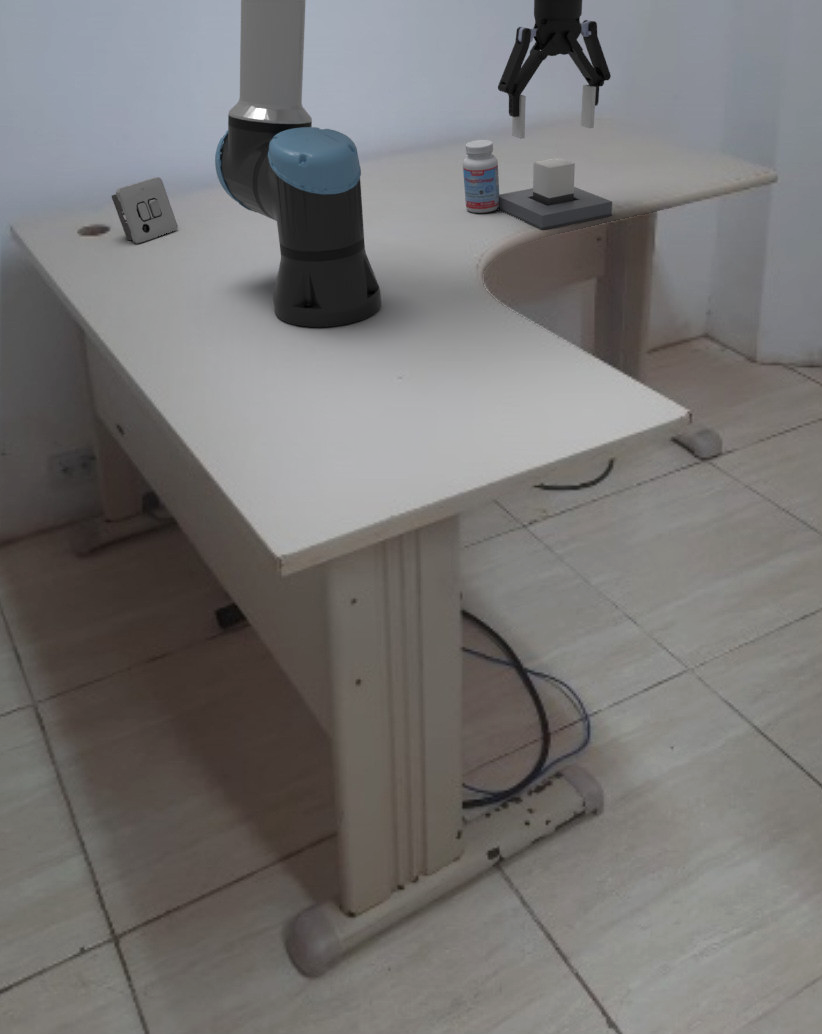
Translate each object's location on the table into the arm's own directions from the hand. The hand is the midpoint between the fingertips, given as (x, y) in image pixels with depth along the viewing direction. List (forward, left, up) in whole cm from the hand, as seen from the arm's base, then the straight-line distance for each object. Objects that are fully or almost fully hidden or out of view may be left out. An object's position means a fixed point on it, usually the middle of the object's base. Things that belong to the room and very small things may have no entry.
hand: (553, 132), depth 177 cm
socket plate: (0, 0, -14) cm, 13 cm away
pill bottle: (+9, +9, -14) cm, 18 cm away
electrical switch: (+29, +64, -14) cm, 71 cm away
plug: (0, 0, -13) cm, 13 cm away
